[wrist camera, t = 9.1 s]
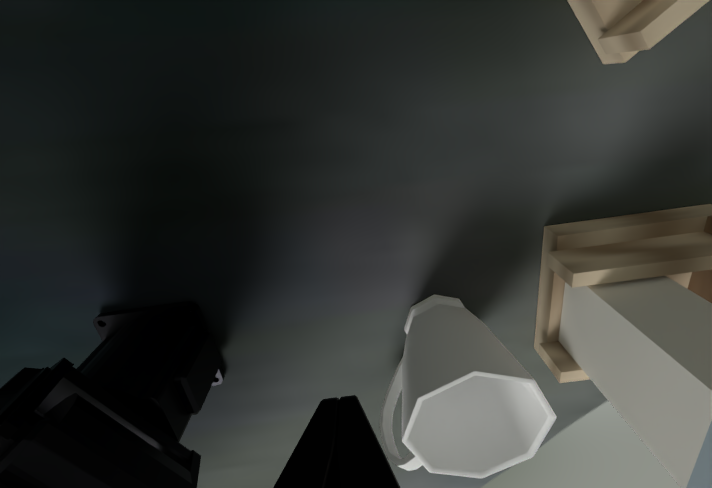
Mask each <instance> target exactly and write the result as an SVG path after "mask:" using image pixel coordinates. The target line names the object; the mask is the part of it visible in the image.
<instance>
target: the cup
mask: <svg viewBox="0 0 712 488" xmlns="http://www.w3.org/2000/svg"><path fill="white" fill-rule="evenodd" d="M404 330H405V332H406V334H407V337H406V340H405V347H404V354H403V357H402V359H401V361H400V362H399V364H398V367H397V369H396V371H395V373H394V376H393V378H392V380H391V383H390V385H389V388H388V390H387V392H386V395H385V399H384V402H383V405H382V409H381V416H380V433H381V439H382V444H383V447H384V450H385V453H386V455H387V458H388V459H389V460H390V461H392V462H393V463H394V464H395V465H397V466H398V467H401V468H403V469H405V470H407V471H411V470H416V469H418V468H419V467H421V466H422V465H423V466H424V467H425V468H426V469H427V470H428V471H429V472H430V473H438V474H447V475H456V476H465V477H473V478H484V477H487V476H489V475H491V474H494V473H496V472H499V471H501V470H503V469H506V468H508V467H511V466H513V465H515V464H518V463H520V462H523V461H525V460H528V459H530V458H532V457H533V456H534V454H535V453H536V451H537V450H538V448H539V446H540V445H541V443H542V441H543V440H544V438H545V436H546V435H547V433H548V431H549V430H550V428H551V426H552V425H553V423H554V421H555V420H556V418H557V417H556V415H555V413H554V412H553V410H552V408H551V407H550V405H549V403H548V402H547V400H546V398H545V396H544V395H543V393H542V391H541V390H540V388H539V386H538V385H537V383H536V381H535V380H534V379H533V377H532V376H531V375H530V374H529V373H528V372H527V371H526V370H525V368H524V367H523V366H522V365H521V364H520V363H519V362H518V361H517V359H516V358H515V357H514V356H513V355H512V354H511V353H510V352H509V351H508V350H507V349H506V348H505V347H504V345H503V344H502V343H501V342H500V341H499V340H498V339H497V337H496V336H495V335H494V334H493V333H492V332H491V330H490V329H489V328H488V327H487V326H486V325H485V324H484V323H483V322H482V321H481V320H480V319H478V318H477V317H476V316H475V315H474V314H472V313H471V312H470V311H469V310H467V309H466V308H465V307H464V305H463V304H462V302H461V301H460V299H458V298H452V297H446V296H440V295H435V294H434V295H432V296H430V297H428V298H427V299H425V300H423V301H421V302H419V303H417V304H416V305H414V306H412V307H411V308H410V312H409V315H408V318H407V321H406V324H405V327H404ZM401 389H402V442H403V443H404V444H405V445H406V446H407V448H408V449H409V450H410V452H409V453H408V454H407V456H406V457H405V458H401V457H400V455H399V453H398V450H397V448H396V445H395V442H394V437H393V432H392V422H393V412H394V409H395V406H396V403H397V399H398V397H399V394H400V392H401Z"/></svg>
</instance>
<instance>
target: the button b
mask: <svg viewBox="0 0 712 488" xmlns="http://www.w3.org/2000/svg"><path fill="white" fill-rule="evenodd" d="M558 341H559V342H560V343H561V344H562V346H563V347H564V348H565V349H566V350H567V352H568V353H569V354H570V355H571V356H572V358H573V359H574V360H575V361H576V362H577V364H578V365H579V366H580V367H581V368H582V370H583V371H584V372H585V373H586V374H587V376H588V377H589V378H590V379H591V380H592V382H593V383H594V384H595V385H596V386H597V388H598V389H599V390H600V391H601V392H602V394H603V395H604V396H605V397H606V398H607V400H608V401H609V402H610V403H611V404H612V406H613V407H614V408H615V409H616V410H617V412H618V413H619V414H620V415H621V416H622V418H623V419H624V420H625V421H626V422H627V424H628V425H629V426H630V427H631V428H632V430H633V431H634V432H635V433H636V434H637V436H638V437H639V438H640V439H641V440H642V442H643V443H644V444H645V445H646V446H647V447H648V449H649V450H650V451H651V452H652V454H653V455H654V456H655V457H656V458H657V460H658V461H659V462H660V463H661V464H662V466H663V467H664V468H665V469H666V470H667V472H668V473H669V474H670V475H671V476H672V478H673V479H674V480H675V481H676V483H677V484H678V485H679V486H680V487H681V488H712V303H710V302H709V301H707V300H705V299H704V298H702V297H700V296H699V295H697V294H695V293H694V292H692V291H690V290H688V289H687V288H685V287H683V286H682V285H680V284H678V283H677V282H675V281H673V280H672V279H670V278H668V277H667V276H658V277H650V278H643V279H635V280H627V281H619V282H612V283H604V284H596V285H589V286H581V287H573V288H572V287H571V286H569V285H568V284H567V283H566V282H565V288H564V296H563V305H562V313H561V322H560V331H559V339H558Z"/></svg>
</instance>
